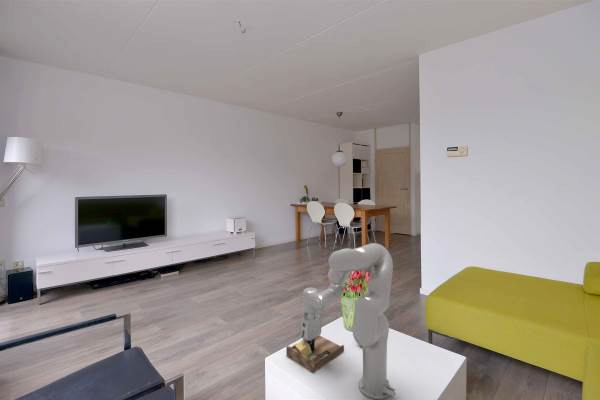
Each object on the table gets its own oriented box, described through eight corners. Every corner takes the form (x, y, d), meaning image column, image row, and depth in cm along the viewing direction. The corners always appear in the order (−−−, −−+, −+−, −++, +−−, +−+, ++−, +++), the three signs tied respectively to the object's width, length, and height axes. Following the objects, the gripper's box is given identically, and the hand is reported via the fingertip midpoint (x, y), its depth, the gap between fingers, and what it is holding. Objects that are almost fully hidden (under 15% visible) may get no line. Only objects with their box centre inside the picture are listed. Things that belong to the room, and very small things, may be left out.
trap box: (343, 351, 142) (343, 342, 141) (313, 373, 126) (313, 362, 125) (317, 338, 154) (317, 329, 154) (286, 355, 138) (286, 346, 138)
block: (311, 352, 135) (308, 344, 134) (303, 359, 132) (300, 350, 131) (306, 347, 139) (303, 339, 138) (298, 353, 137) (295, 345, 136)
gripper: (305, 321, 129) (305, 360, 130) (326, 311, 139) (326, 347, 140) (294, 316, 134) (294, 353, 135) (315, 306, 145) (315, 341, 146)
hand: (311, 350), depth 138 cm, fingers closed
